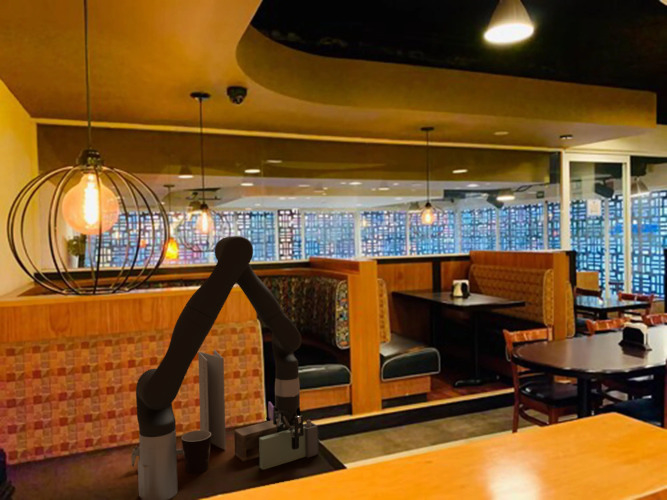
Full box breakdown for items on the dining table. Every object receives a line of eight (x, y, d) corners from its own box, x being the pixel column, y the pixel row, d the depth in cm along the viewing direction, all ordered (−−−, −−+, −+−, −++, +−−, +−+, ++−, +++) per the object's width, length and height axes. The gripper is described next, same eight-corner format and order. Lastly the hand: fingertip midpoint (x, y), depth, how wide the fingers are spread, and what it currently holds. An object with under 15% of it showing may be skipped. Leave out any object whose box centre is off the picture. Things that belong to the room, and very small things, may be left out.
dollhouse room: (271, 429, 182) (271, 410, 182) (265, 418, 193) (265, 401, 193) (304, 425, 186) (303, 406, 186) (296, 414, 197) (295, 397, 197)
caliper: (132, 468, 152) (131, 447, 152) (131, 466, 153) (130, 446, 153) (200, 452, 161) (200, 433, 161) (200, 451, 162) (199, 432, 162)
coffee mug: (204, 476, 146) (203, 442, 146) (176, 474, 148) (175, 440, 148) (221, 459, 158) (220, 427, 157) (195, 457, 159) (194, 426, 159)
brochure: (200, 437, 175) (198, 351, 175) (216, 435, 178) (214, 349, 177) (208, 453, 162) (206, 360, 162) (225, 450, 165) (223, 358, 164)
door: (264, 471, 149) (264, 441, 148) (258, 466, 152) (257, 436, 152) (318, 454, 160) (318, 425, 160) (311, 449, 163) (310, 422, 163)
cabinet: (257, 472, 148) (256, 435, 148) (234, 455, 161) (234, 421, 160) (314, 454, 160) (313, 420, 160) (289, 439, 172) (288, 407, 172)
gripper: (265, 388, 159) (266, 440, 159) (288, 400, 148) (289, 455, 148) (286, 384, 163) (286, 434, 164) (310, 395, 152) (311, 448, 152)
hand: (288, 444), depth 156 cm, fingers open, 8 cm apart
